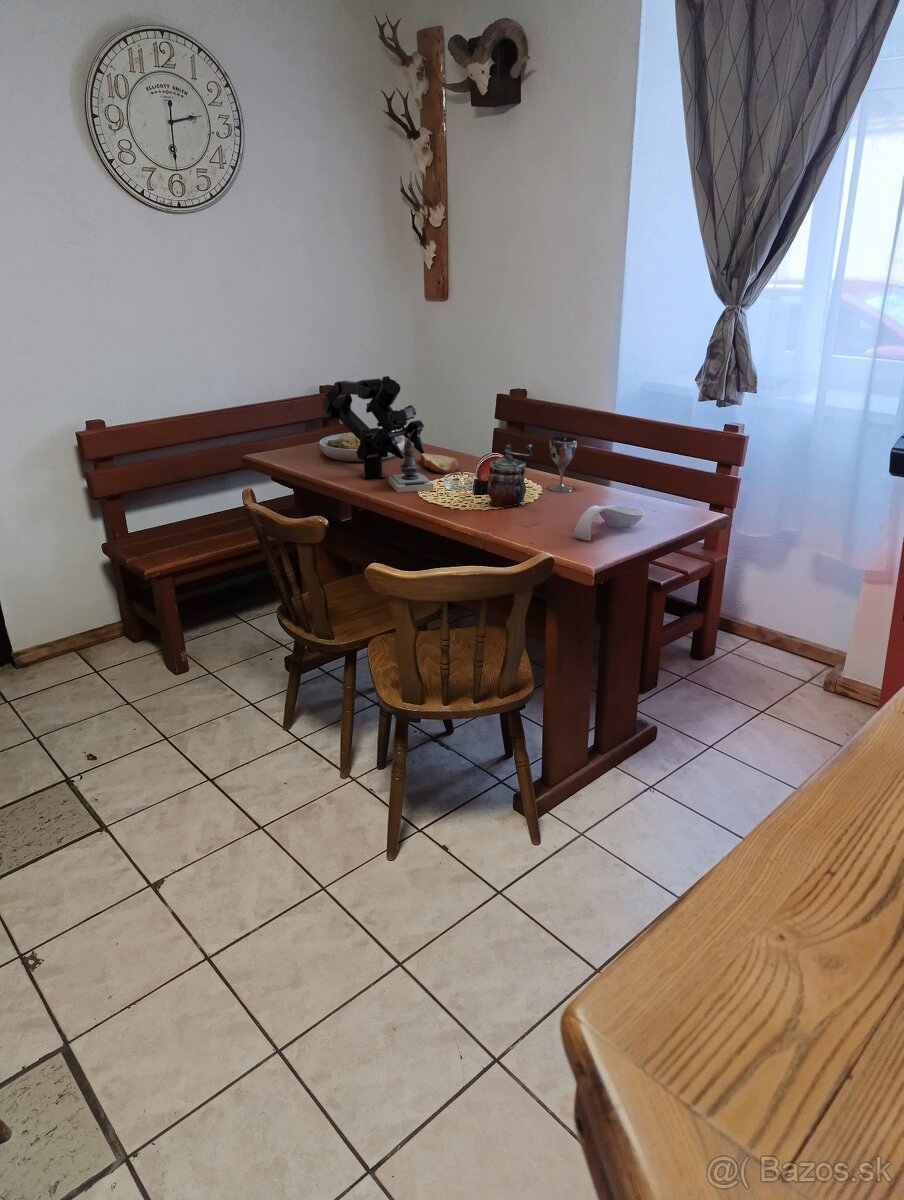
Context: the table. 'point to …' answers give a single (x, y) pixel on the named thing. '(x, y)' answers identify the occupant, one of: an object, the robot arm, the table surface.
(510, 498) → the coffee grinder
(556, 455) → the wine glass
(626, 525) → the spoon rest
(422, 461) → the bread slice
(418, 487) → the scale
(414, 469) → the grey carved figurine
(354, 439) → the bowl
